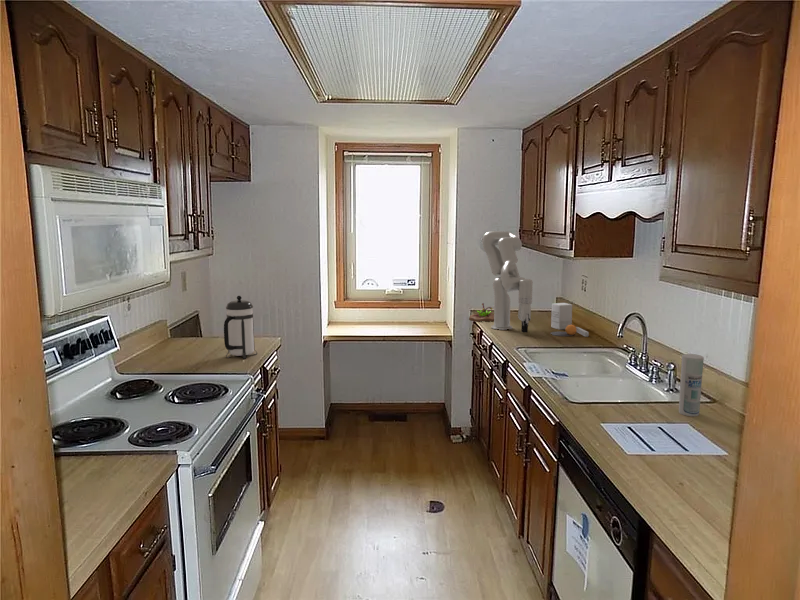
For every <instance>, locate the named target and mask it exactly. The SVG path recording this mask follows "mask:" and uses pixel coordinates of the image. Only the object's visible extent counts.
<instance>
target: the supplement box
mask: <svg viewBox="0 0 800 600" xmlns="http://www.w3.org/2000/svg"><path fill="white" fill-rule="evenodd" d="M550 320H551V321H550V322H551V323H550V325H551V328H553V329H556V330H566V327H567V326H568V325H573V324H572V323H573V304H571V303H567V302H557V303H553V302H552V303H551V319H550Z"/></svg>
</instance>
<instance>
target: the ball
mask: <svg viewBox="0 0 800 600" xmlns="http://www.w3.org/2000/svg"><path fill="white" fill-rule="evenodd" d="M576 327H577V326H575V324H572V325H568V326H567V327H566V329H565V332H566V333H567V334H569V335H573V336H574V335H575V334H576V333H577V332H576Z"/></svg>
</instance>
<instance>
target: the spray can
mask: <svg viewBox="0 0 800 600" xmlns="http://www.w3.org/2000/svg"><path fill="white" fill-rule="evenodd" d="M703 372H704V356H703V355H699V354H694V353H684V354H682V355H681V367H680V384H679V385H680V386H679V399H678V400H679V401H678V413H679V414H680V415H682V416H686V417H698V416H699V415H700V412H701V411H700V409H701V396H702V384H703V383H702V381H703Z"/></svg>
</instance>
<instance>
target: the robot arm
mask: <svg viewBox="0 0 800 600" xmlns="http://www.w3.org/2000/svg"><path fill="white" fill-rule="evenodd" d="M481 241H482V246H483V247H482V248H483V249H484V252H485V254H486V256H487V259H488V263H489V266H490V271H491V273H492V274H493V275H494V276H498V277H495V278H494V279H493V282H492V287H493V297H494V299H493V301H494V302H493V303H494V304H493V305H494V307H493V308H494V309H493V314H494V322H493V324H492V325H491V329H493V330H497V329H499V331H505V330H507V329H509V330H512V329H513V325H511V298H510V295H509V292H510V293H512V292H513V293H514V292H518V313H517V317H518V319H519V320H520V321H521V333H523V334H524V333H525V334H526V333H528V331H529V328H528V327H529V322H530V321H531V318H532V317H531V316H532V307H531V306H532V305H531V304H533V280H532V279H531V278H525V277H521V275H520V271H519V269H518V266H517V263H518V259H519V258H518V256H517V252H519V251H520V250H521V249H522V246H523V243H522V240H521V239H520V237H519V236H517V235H516V234H513V233H512V232H510V231H508V230H492V231H491V230H490V231H487V232H485V233H484V234H483V237H482V240H481ZM497 246H498V247H497Z"/></svg>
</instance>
